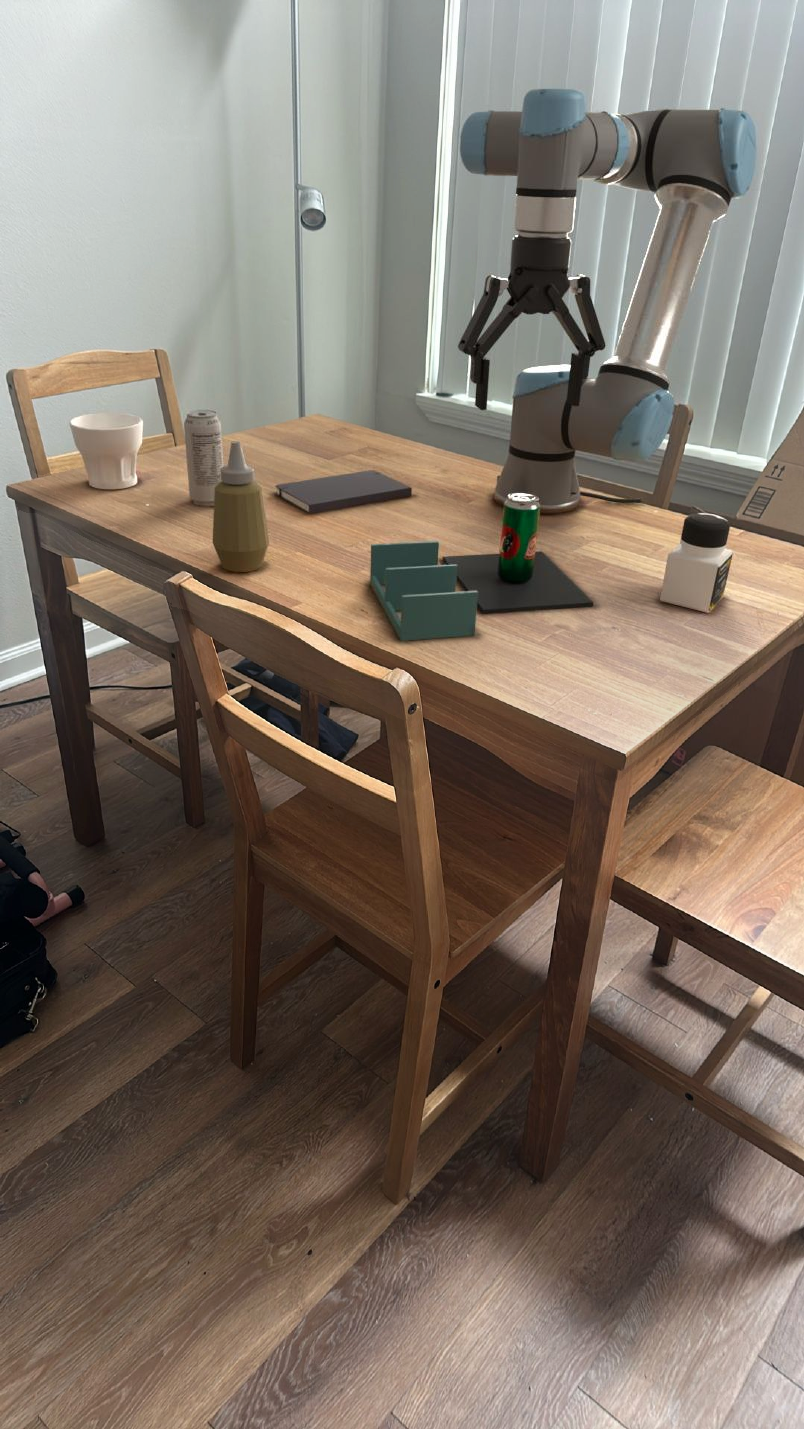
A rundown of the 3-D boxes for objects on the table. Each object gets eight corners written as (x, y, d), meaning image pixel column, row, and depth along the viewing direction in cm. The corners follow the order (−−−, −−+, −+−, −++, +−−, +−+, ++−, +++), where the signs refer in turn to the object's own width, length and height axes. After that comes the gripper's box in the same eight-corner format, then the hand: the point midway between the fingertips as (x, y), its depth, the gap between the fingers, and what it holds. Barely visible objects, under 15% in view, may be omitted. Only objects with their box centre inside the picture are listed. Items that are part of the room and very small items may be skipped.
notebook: (309, 513, 160) (411, 495, 171) (308, 504, 160) (412, 487, 170) (273, 493, 169) (373, 477, 180) (273, 485, 169) (373, 469, 179)
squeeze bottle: (224, 579, 134) (216, 452, 125) (206, 560, 140) (198, 437, 131) (278, 571, 138) (274, 447, 129) (258, 553, 144) (253, 433, 135)
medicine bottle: (709, 614, 130) (727, 529, 124) (658, 601, 133) (674, 518, 127) (723, 597, 135) (741, 515, 129) (674, 585, 138) (690, 505, 132)
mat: (541, 554, 147) (541, 551, 147) (593, 606, 131) (593, 602, 130) (442, 560, 144) (442, 556, 144) (482, 613, 127) (483, 609, 127)
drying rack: (435, 580, 137) (438, 540, 134) (474, 635, 121) (478, 592, 118) (370, 584, 135) (370, 543, 132) (401, 641, 119) (402, 597, 116)
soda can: (530, 586, 134) (539, 504, 128) (495, 582, 135) (502, 500, 129) (533, 573, 139) (542, 493, 133) (499, 570, 139) (506, 490, 133)
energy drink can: (222, 495, 168) (217, 408, 160) (228, 505, 163) (222, 416, 155) (187, 497, 166) (180, 409, 158) (192, 508, 161) (185, 418, 153)
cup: (163, 481, 173) (157, 419, 168) (111, 497, 164) (103, 433, 159) (115, 469, 179) (108, 409, 173) (62, 484, 170) (53, 421, 164)
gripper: (619, 232, 126) (598, 396, 137) (439, 231, 120) (433, 402, 131) (645, 237, 120) (621, 408, 131) (457, 237, 114) (449, 416, 125)
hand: (527, 406), depth 131 cm, fingers open, 13 cm apart
